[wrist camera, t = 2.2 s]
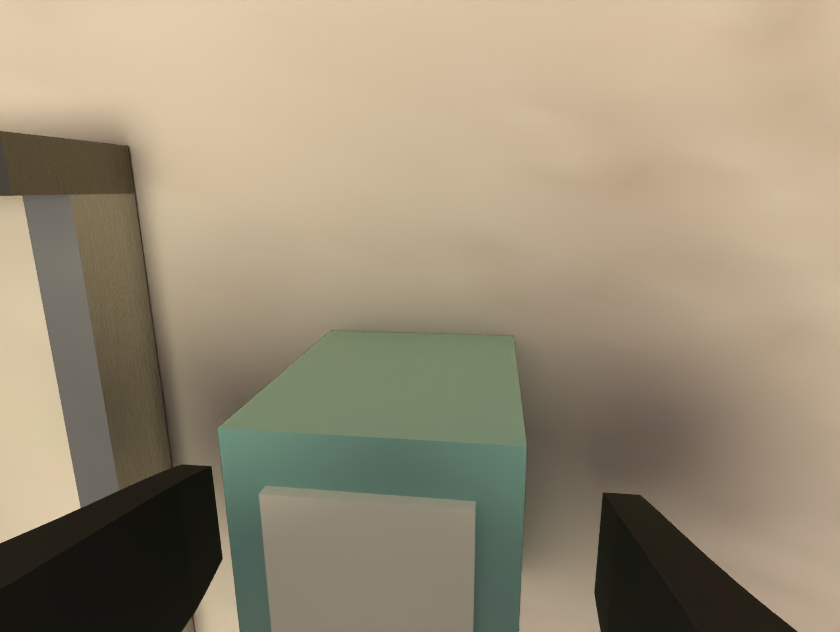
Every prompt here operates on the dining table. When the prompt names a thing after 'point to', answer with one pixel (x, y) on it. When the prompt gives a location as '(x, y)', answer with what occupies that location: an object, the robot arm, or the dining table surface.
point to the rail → (93, 305)
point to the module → (380, 487)
